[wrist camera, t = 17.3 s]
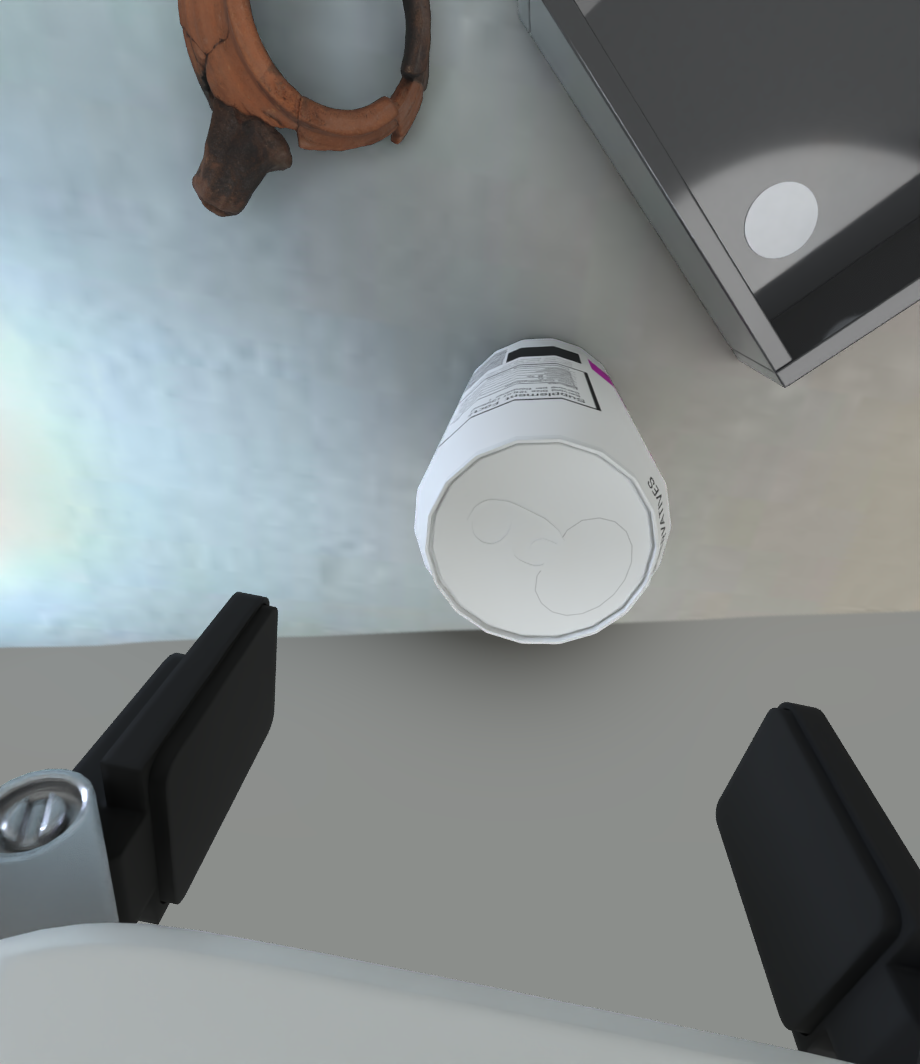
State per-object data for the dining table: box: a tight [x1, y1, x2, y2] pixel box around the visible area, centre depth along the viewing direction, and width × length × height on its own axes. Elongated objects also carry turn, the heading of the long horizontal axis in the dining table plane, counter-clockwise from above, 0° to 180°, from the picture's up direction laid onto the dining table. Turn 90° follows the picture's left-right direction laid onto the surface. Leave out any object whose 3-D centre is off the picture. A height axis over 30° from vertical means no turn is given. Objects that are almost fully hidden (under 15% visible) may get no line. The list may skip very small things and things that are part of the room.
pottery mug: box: [178, 0, 431, 217], centre depth 24 cm, size 12×10×8 cm
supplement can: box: [414, 338, 671, 644], centre depth 25 cm, size 8×8×15 cm
